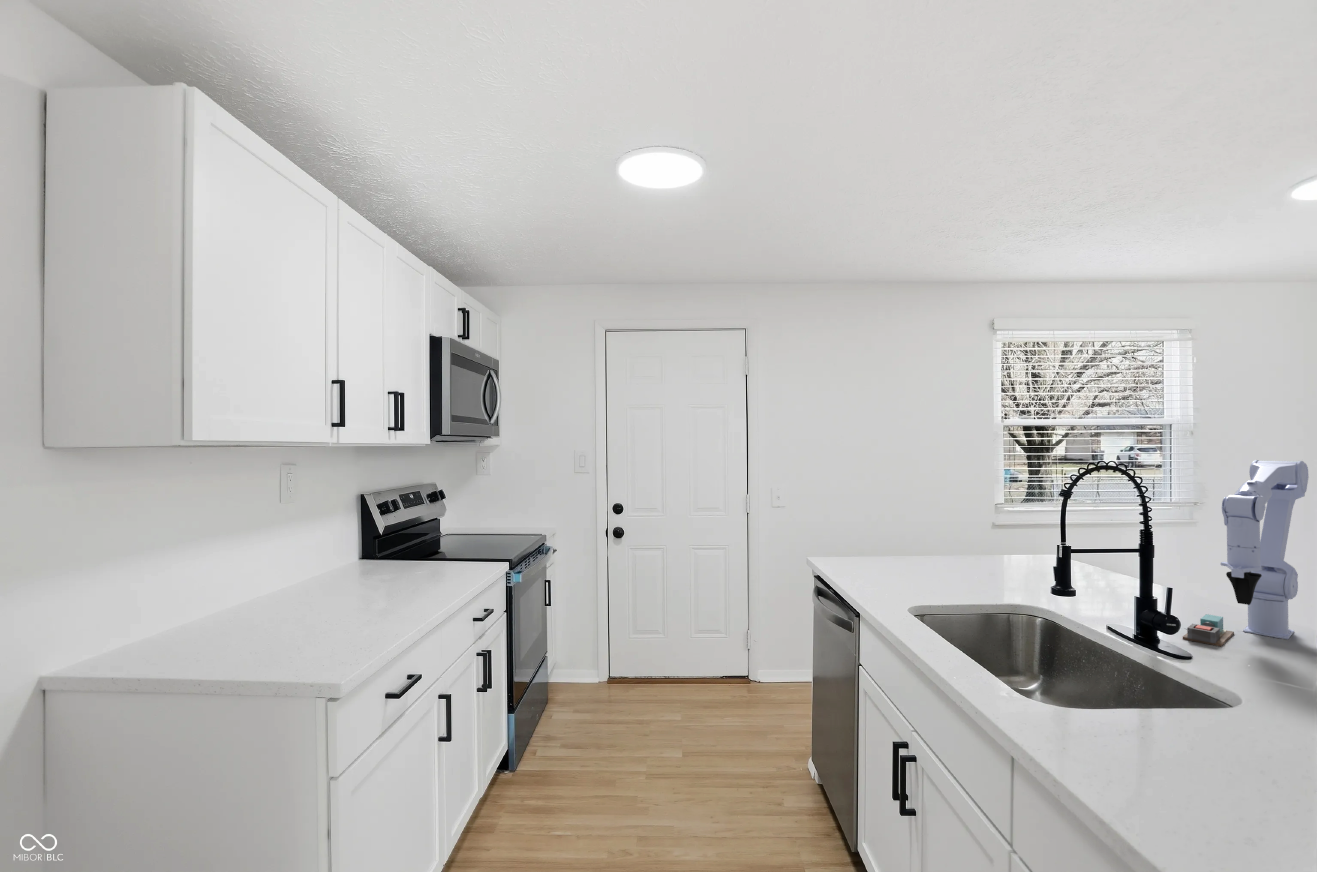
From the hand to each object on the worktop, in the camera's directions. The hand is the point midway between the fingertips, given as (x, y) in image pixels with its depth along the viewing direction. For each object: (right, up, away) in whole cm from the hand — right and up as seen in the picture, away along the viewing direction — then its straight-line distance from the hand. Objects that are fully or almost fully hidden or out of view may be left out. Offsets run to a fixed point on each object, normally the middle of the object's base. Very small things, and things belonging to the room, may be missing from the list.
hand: (1244, 603), depth 146 cm
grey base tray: (-4, -10, +5) cm, 11 cm away
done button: (-8, -9, +2) cm, 12 cm away
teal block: (-1, -9, +7) cm, 11 cm away
